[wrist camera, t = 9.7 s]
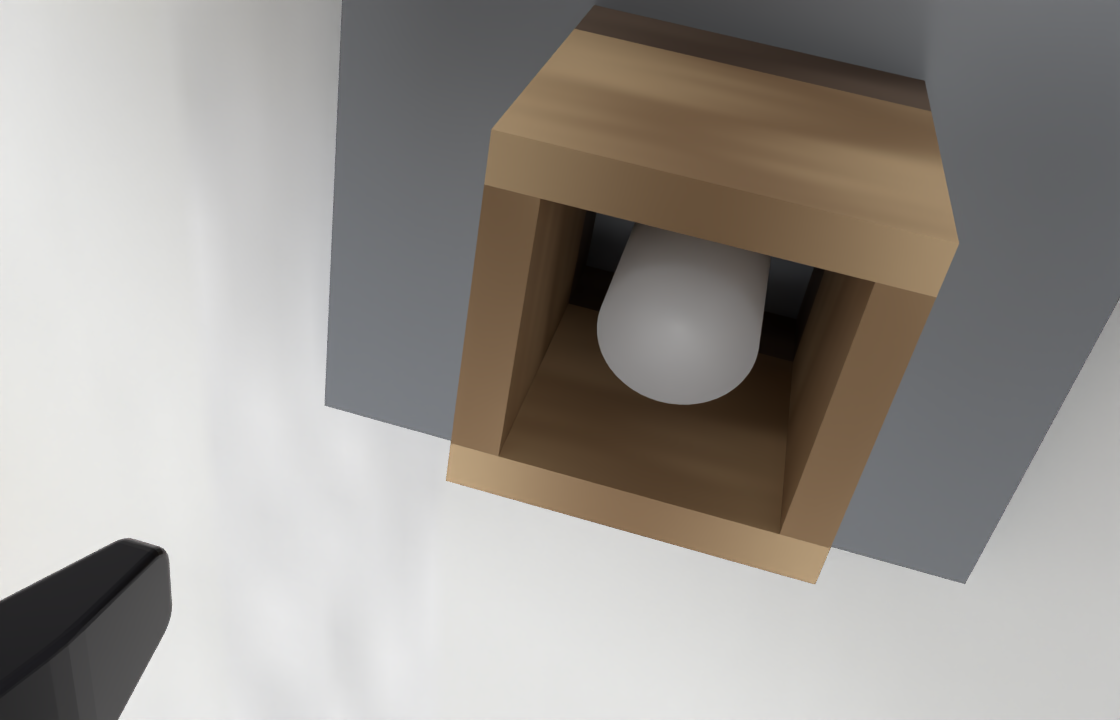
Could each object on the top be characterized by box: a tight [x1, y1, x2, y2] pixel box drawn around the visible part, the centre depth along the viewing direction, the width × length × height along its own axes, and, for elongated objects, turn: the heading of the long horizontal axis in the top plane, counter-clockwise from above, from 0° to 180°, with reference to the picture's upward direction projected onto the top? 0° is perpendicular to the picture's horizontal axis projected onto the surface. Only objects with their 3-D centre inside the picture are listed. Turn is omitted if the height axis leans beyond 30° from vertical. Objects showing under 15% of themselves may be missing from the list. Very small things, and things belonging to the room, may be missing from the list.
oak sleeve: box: [446, 5, 959, 584], centre depth 16 cm, size 5×5×6 cm
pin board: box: [325, 0, 1120, 584], centre depth 17 cm, size 14×14×6 cm
